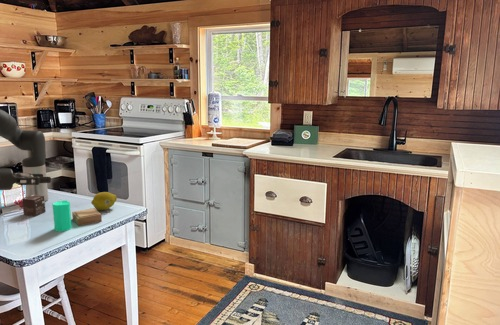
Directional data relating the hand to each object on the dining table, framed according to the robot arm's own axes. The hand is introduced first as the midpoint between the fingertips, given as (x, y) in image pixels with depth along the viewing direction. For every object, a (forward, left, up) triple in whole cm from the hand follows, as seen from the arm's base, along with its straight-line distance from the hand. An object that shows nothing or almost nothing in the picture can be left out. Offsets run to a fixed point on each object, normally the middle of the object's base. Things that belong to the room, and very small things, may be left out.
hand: (46, 178), depth 141 cm
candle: (0, +4, -21) cm, 21 cm away
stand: (-4, +14, -21) cm, 25 cm away
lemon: (-13, +24, -21) cm, 34 cm away
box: (-24, -2, -21) cm, 32 cm away
